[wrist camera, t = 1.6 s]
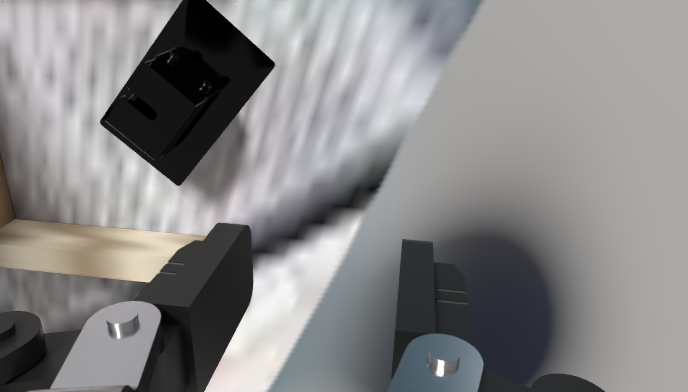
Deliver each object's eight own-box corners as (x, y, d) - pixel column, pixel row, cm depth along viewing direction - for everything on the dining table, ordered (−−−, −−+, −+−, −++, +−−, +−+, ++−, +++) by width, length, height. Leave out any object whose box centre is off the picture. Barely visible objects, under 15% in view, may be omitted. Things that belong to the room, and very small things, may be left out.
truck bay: (-2, 238, 33) (-47, 267, 30) (-93, -112, 26) (-165, -122, 23) (231, 261, 32) (210, 294, 28) (208, -107, 24) (174, -118, 21)
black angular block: (202, -53, 26) (159, -58, 21) (317, 52, 27) (298, 67, 23) (79, 130, 30) (24, 156, 26) (183, 212, 31) (146, 250, 27)
